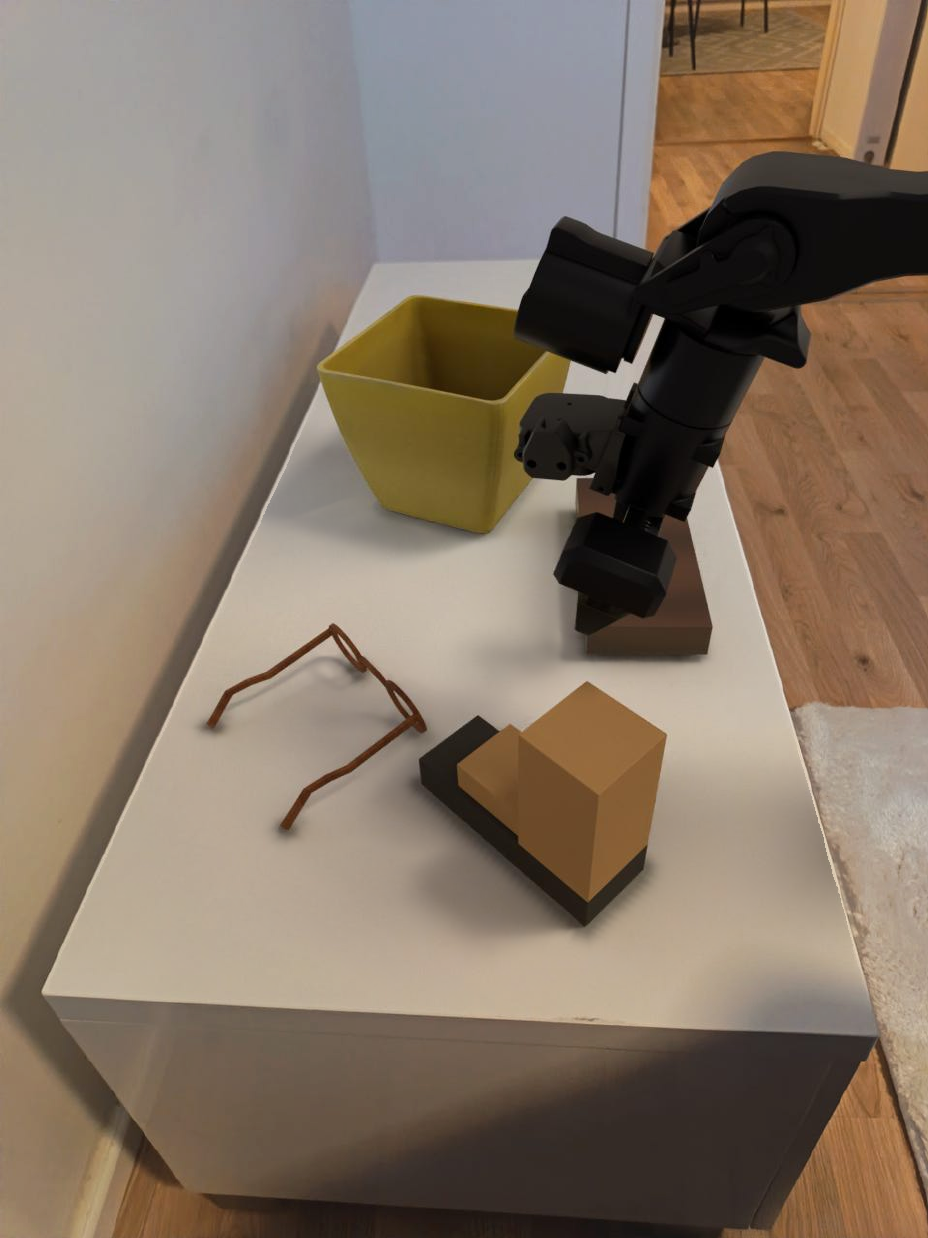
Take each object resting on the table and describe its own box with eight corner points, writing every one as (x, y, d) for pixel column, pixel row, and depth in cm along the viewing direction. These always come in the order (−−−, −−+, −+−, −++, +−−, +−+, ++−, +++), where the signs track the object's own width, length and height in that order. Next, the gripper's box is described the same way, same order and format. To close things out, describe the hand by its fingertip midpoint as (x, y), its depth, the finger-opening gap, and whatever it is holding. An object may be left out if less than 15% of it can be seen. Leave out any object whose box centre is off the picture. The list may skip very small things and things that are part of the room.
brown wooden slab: (706, 662, 73) (713, 626, 70) (585, 661, 74) (588, 626, 71) (673, 509, 89) (677, 476, 86) (574, 510, 90) (576, 477, 87)
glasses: (432, 743, 68) (427, 699, 64) (284, 833, 62) (270, 791, 59) (343, 652, 76) (335, 609, 72) (205, 725, 70) (189, 682, 67)
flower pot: (423, 431, 103) (411, 290, 92) (574, 464, 96) (581, 316, 85) (337, 518, 91) (311, 367, 79) (504, 563, 84) (501, 405, 73)
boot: (643, 869, 59) (667, 733, 49) (585, 927, 56) (598, 795, 46) (479, 740, 68) (472, 604, 58) (421, 784, 65) (404, 649, 55)
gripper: (593, 286, 56) (530, 475, 68) (503, 427, 44) (444, 630, 55) (756, 348, 55) (665, 529, 67) (713, 511, 43) (609, 701, 54)
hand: (598, 588), depth 61 cm, fingers open, 9 cm apart
